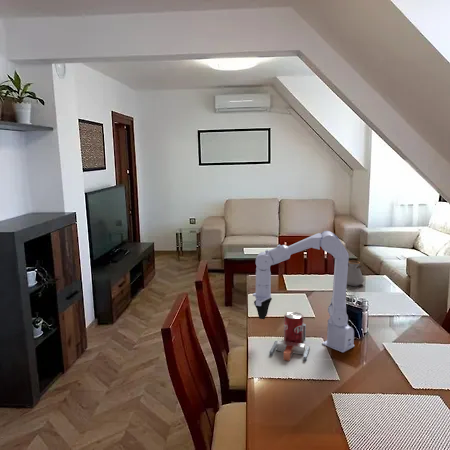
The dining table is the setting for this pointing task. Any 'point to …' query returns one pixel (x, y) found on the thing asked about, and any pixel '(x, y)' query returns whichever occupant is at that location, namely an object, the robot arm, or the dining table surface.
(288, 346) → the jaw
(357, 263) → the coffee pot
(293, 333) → the soda can
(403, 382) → the dining table surface
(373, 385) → the dining table surface
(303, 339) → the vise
